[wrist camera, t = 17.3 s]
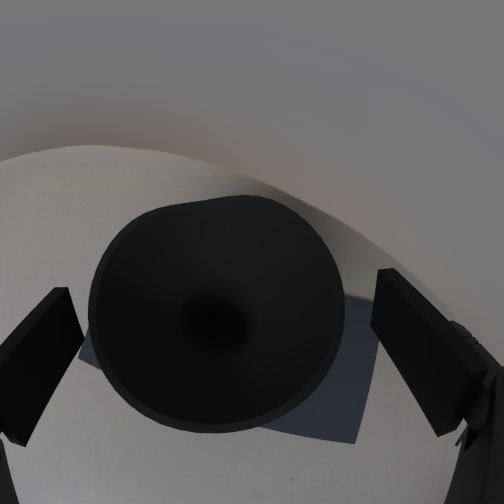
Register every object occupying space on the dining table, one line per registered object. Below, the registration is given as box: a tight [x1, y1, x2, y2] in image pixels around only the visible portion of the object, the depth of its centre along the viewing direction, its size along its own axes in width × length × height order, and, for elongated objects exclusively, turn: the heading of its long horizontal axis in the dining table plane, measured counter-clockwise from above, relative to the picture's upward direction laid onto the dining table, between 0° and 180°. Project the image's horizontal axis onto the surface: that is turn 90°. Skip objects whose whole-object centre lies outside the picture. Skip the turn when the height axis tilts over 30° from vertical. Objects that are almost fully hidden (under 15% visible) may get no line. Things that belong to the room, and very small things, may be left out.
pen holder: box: [88, 195, 345, 433], centre depth 15 cm, size 9×9×10 cm
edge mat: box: [78, 296, 379, 444], centre depth 20 cm, size 20×10×1 cm, turn 74°
